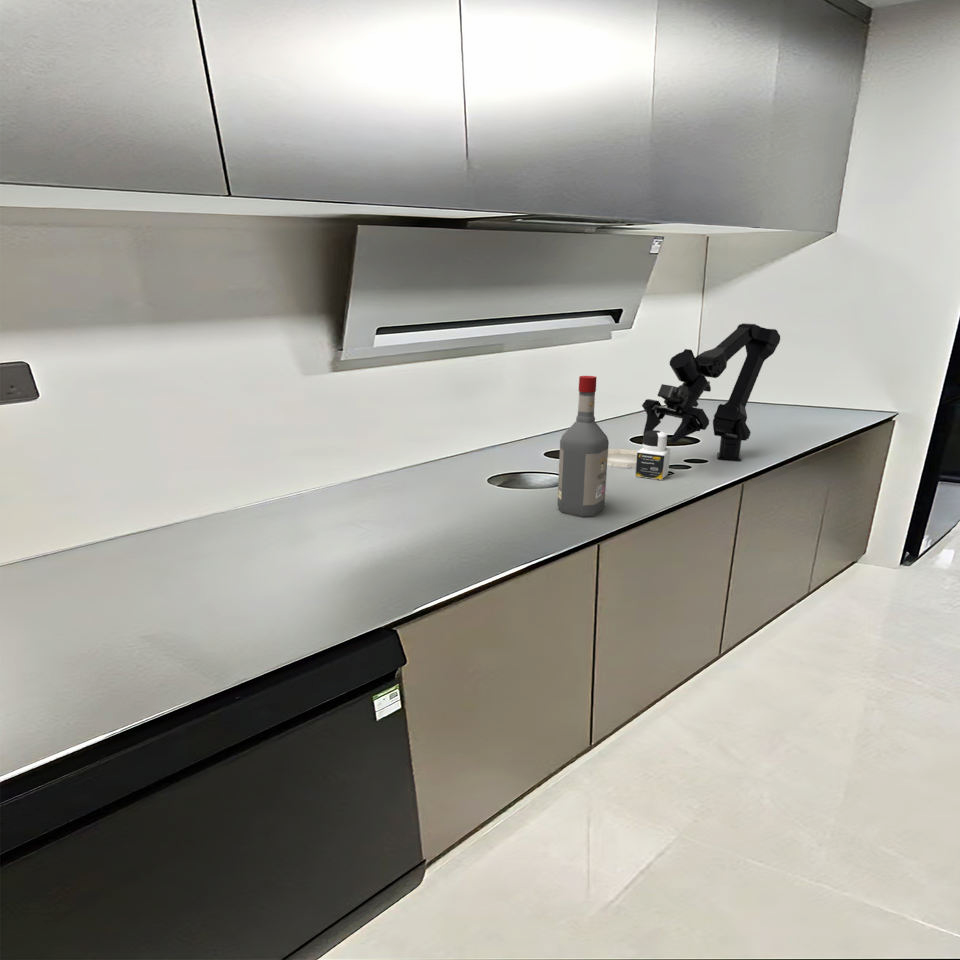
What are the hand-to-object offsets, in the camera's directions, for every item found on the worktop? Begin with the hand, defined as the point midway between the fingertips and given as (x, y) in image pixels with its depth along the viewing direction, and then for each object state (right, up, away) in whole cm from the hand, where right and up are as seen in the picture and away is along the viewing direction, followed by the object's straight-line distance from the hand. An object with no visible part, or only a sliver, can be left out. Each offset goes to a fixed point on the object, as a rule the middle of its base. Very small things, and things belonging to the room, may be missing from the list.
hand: (657, 438), depth 175 cm
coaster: (-5, -5, +17) cm, 18 cm away
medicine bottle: (-1, -10, +2) cm, 10 cm away
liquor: (-24, -18, -25) cm, 39 cm away
